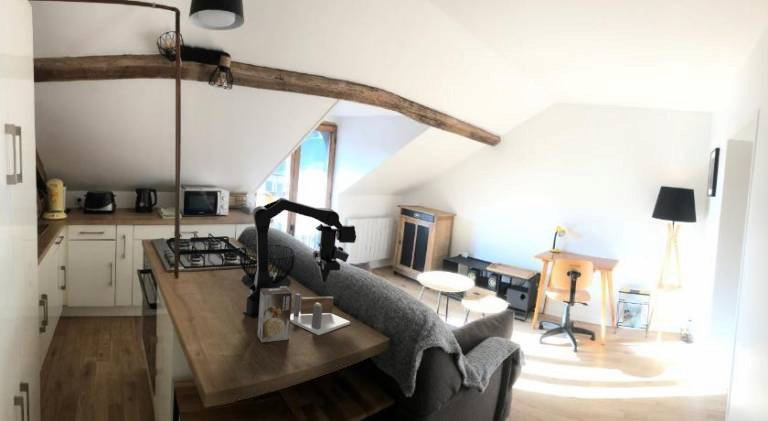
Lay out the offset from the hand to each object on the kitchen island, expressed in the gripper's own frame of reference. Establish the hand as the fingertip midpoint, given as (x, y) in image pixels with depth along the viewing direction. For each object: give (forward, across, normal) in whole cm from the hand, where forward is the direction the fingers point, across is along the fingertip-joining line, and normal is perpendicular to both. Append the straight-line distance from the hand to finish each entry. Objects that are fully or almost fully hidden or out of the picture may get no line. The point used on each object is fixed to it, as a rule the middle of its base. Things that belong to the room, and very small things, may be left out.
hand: (324, 281), depth 176 cm
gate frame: (+12, -10, +4) cm, 16 cm away
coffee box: (+12, -21, +22) cm, 33 cm away
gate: (+10, -6, +3) cm, 12 cm away
